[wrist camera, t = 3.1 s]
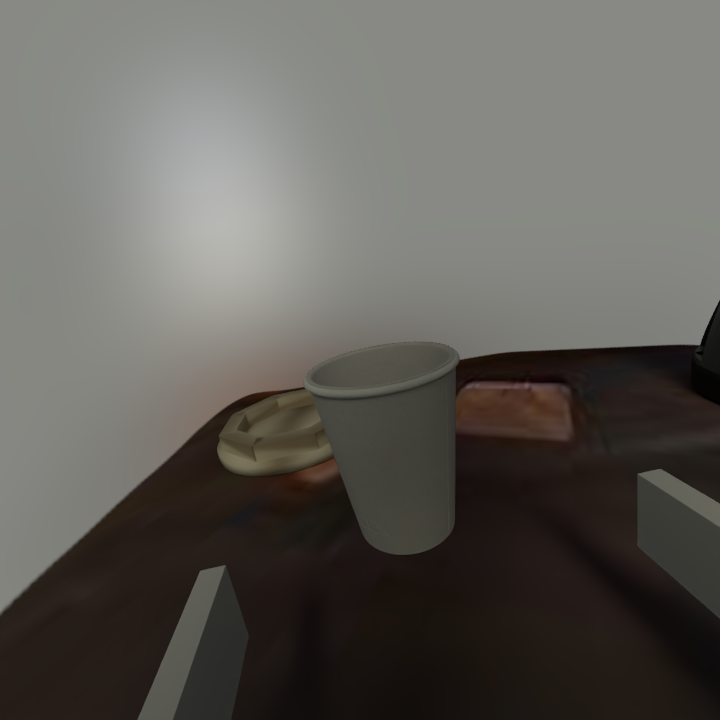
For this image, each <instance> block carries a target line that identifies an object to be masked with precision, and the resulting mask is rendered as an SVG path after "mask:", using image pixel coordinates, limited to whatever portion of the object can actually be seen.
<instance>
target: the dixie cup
mask: <svg viewBox="0 0 720 720" xmlns="http://www.w3.org/2000/svg"><path fill="white" fill-rule="evenodd" d="M458 363H459V354H458V353H457V351H455V350H454V349H453V348H451V347H449V346H447V345H444V344H440V343H433V342H403V343H392V344H385V345H378V346H373V347H368V348H363V349H359V350H355V351H351V352H348V353H345V354H342V355H338V356H336V357H333V358H330V359H328V360H326V361H324V362H322V363H320V364H318V365H316V366H315V367H313V368H312V369H311V370H310V371H309V372H308V373H307V375H306V376H305V378H304V382H303V383H304V387H305V388H306V389H307V390H308V391H309V392H310V393H311V394H312V397H313V400H314V403H315V405H316V408H317V411H318V413H319V416H320V419H321V422H322V424H323V427H324V430H325V433H326V435H327V438H328V441H329V443H330V446H331V449H332V452H333V454H334V457H335V460H336V463H337V465H338V468H339V471H340V474H341V476H342V479H343V482H344V484H345V487H346V490H347V493H348V495H349V498H350V501H351V504H352V506H353V509H354V512H355V515H356V517H357V520H358V523H359V525H360V528H361V531H362V534H363V536H364V538H365V539H366V541H367V542H368V543H369V544H370V545H372V546H373V547H375V548H376V549H378V550H380V551H383V552H386V553H390V554H396V555H409V554H416V553H421V552H424V551H427V550H429V549H432V548H434V547H435V546H437V545H439V544H440V543H441V542H443V541H444V540H445V539H446V538H447V537H448V536H449V535H450V534H451V532H452V530H453V528H454V524H455V396H456V366H457V365H458Z"/></svg>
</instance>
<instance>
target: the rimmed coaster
mask: <svg viewBox="0 0 720 720" xmlns="http://www.w3.org/2000/svg"><path fill="white" fill-rule="evenodd" d="M219 438H220V442H219V444H218V447H217V451H218V455H219V458H220V462H221V464H222V466H223V467H224V468H225V469H226V470H228V471H230V472H232V473H235V474H239V475H245V476H272V475H280V474H285V473H290V472H295V471H299V470H302V469H306V468H309V467H312V466H315V465H317V464H320V463H323V462H325V461H327V460H329V459H332V458H334V454H333V452H332V449H331V446H330V443H329V441H328V438H327V435H326V433H325V430H324V427H323V424H322V422H321V419H320V416H319V413H318V411H317V408H316V405H315V403H314V400H313V397H312V394H311V393H310V392H309V391H308V390H307V389H303V390H298V391H293V392H288V393H284V394H279V395H274V396H271V397H269V398H267V399H265V400H263V401H261V402H258V403H256V404H254V405H252V406H250V407H248V408H245V409H243V410H241V411H239V412H237V413H235V414H234V415H232V416H231V418H230V419H229V421H228V422H227V424H226V425H225V427H224V429H223V430H222V432H221V433H220V435H219Z"/></svg>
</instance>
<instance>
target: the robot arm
mask: <svg viewBox="0 0 720 720" xmlns="http://www.w3.org/2000/svg"><path fill="white" fill-rule="evenodd" d="M691 383H692V385H693V387H694V388H695V389H696V390H697V391H699V392H700V393H701V394H703V395H705V396H706V397H708V398H710V399H712V400H715V401H717V402H719V403H720V301H719V303H718V305H717V307H716V309H715V311H714V313H713V315H712V317H711V319H710V321H709V324H708V326H707V328H706V330H705V333H704V336H703V339H702V341H701V344H700V346H699V347H698V348H697V349H696V350H695V352H694V354H693V357H692V367H691ZM638 547H639V548H640V549H641V550H642V551H644V552H645V553H646V554H647V555H648V556H649V557H650V558H651V559H653V560H654V561H655V562H656V563H657V564H658V565H659V566H661V567H662V568H663V569H664V570H665V571H666V572H667V573H669V574H670V575H671V576H672V577H673V578H674V579H675V580H677V581H678V582H679V583H680V584H681V585H682V586H683V587H684V588H686V589H687V590H688V591H689V592H690V593H691V594H692V595H694V596H695V597H696V598H697V599H698V600H699V601H700V602H702V603H703V604H704V605H705V606H706V607H707V608H708V609H709V610H711V611H712V612H713V613H714V614H715V615H716V616H717V617H719V618H720V504H719V503H718V502H716V501H714V500H712V499H711V498H709V497H707V496H706V495H704V494H702V493H701V492H699V491H697V490H695V489H694V488H692V487H690V486H689V485H687V484H685V483H684V482H682V481H680V480H678V479H677V478H675V477H673V476H672V475H670V474H668V473H667V472H665V471H663V470H661V469H658V470H653V471H649V472H644V473H640V474H638ZM248 637H249V635H248V632H247V629H246V626H245V623H244V620H243V617H242V614H241V611H240V607H239V604H238V601H237V598H236V595H235V592H234V589H233V586H232V583H231V580H230V577H229V574H228V571H227V568H226V565H224V566H220V567H215V568H211V569H206V570H202V571H200V573H199V575H198V578H197V580H196V582H195V585H194V587H193V589H192V592H191V594H190V597H189V599H188V601H187V604H186V606H185V608H184V611H183V613H182V616H181V618H180V620H179V623H178V625H177V627H176V630H175V632H174V635H173V637H172V639H171V642H170V644H169V646H168V649H167V651H166V654H165V656H164V658H163V661H162V663H161V666H160V668H159V670H158V673H157V675H156V677H155V680H154V682H153V685H152V687H151V689H150V692H149V694H148V696H147V699H146V701H145V704H144V706H143V708H142V711H141V713H140V715H139V718H138V720H231V717H232V713H233V708H234V703H235V699H236V694H237V689H238V684H239V680H240V675H241V670H242V666H243V661H244V656H245V651H246V647H247V642H248Z"/></svg>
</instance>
